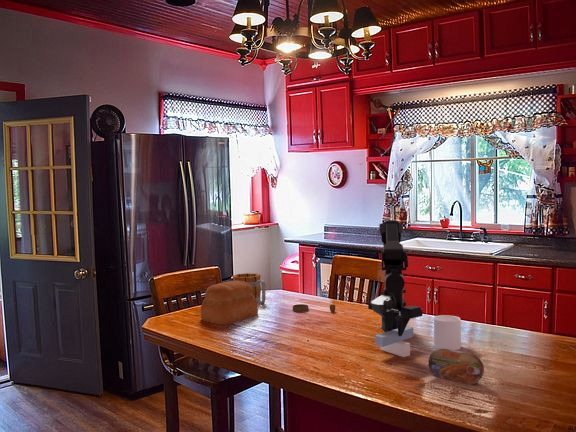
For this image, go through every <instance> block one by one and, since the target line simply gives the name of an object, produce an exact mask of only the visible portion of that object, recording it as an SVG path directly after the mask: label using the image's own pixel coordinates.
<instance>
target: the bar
mask: <svg viewBox="0 0 576 432" xmlns="http://www.w3.org/2000/svg"><path fill="white" fill-rule="evenodd" d="M413 337H414V327H412V326H408V325H407V326H406V328H405V330H404V332H403V334H402V336H399V335H398V329H395V330H391V331H388V332H387V331H386V332H382V333H378V334H376V335H375V336H374V343H375V344H374V345H375V346H377V347H380V348H381V347H384V346H387V345H390V344H393V343H396V342H399V341H404V340H408V339H410V338H413Z"/></svg>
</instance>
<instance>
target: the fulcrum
mask: <svg viewBox="0 0 576 432" xmlns="http://www.w3.org/2000/svg"><path fill="white" fill-rule="evenodd" d="M380 350H381V351H383V352H387V353H389V354H393V355H396V356H399V357H402V358H405V357H409V356H411V343H410V342H407V341H404V340H402V341H399V342H396V343H393V344H390V345H387V346H384V347H381V346H380Z"/></svg>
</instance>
